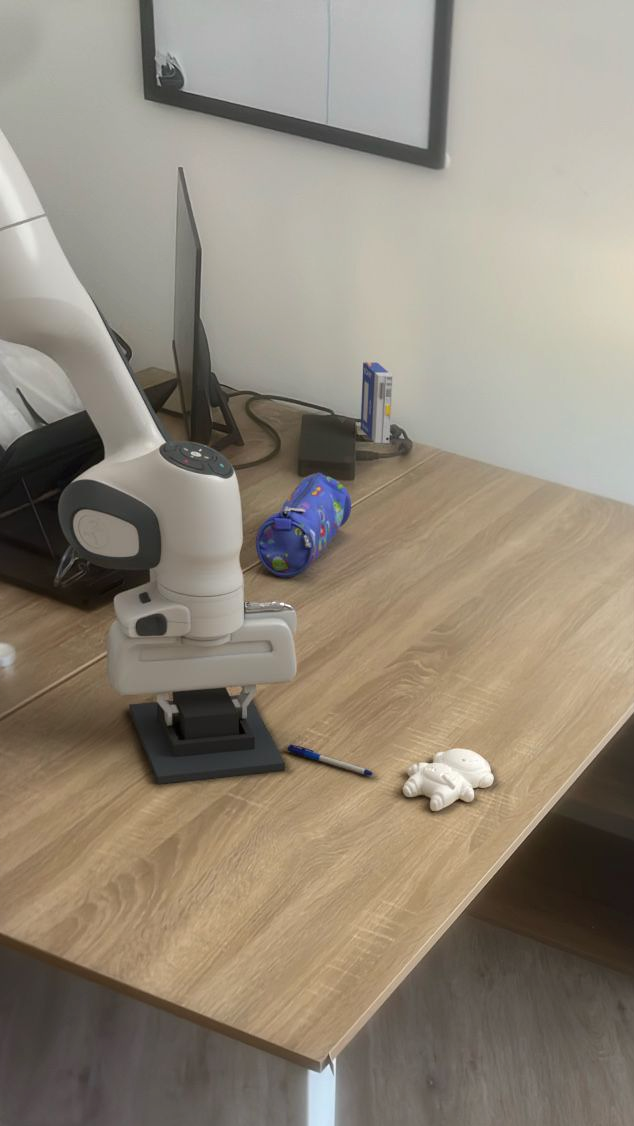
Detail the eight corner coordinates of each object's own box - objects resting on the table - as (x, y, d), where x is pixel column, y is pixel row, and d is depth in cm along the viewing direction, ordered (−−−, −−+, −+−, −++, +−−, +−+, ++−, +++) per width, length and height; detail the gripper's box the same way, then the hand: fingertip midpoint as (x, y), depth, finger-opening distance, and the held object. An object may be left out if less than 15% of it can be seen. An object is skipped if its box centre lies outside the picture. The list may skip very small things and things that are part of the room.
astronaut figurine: (384, 786, 143) (385, 763, 141) (453, 751, 151) (455, 729, 149) (442, 819, 140) (445, 796, 138) (510, 781, 148) (513, 759, 146)
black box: (185, 748, 142) (183, 717, 139) (173, 722, 146) (172, 691, 143) (239, 743, 144) (238, 712, 142) (226, 717, 148) (225, 686, 146)
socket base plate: (157, 784, 137) (156, 763, 136) (129, 711, 148) (128, 691, 146) (284, 770, 143) (285, 750, 141) (248, 701, 154) (248, 681, 152)
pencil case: (310, 587, 181) (311, 521, 174) (251, 575, 181) (250, 509, 175) (352, 532, 198) (354, 470, 192) (298, 522, 198) (299, 460, 192)
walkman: (360, 428, 236) (363, 360, 228) (374, 428, 237) (377, 360, 229) (375, 443, 231) (378, 374, 223) (389, 443, 232) (393, 374, 224)
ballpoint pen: (285, 752, 146) (285, 745, 145) (289, 749, 146) (289, 741, 146) (370, 777, 144) (370, 770, 143) (373, 774, 145) (374, 766, 144)
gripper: (289, 587, 141) (288, 698, 150) (98, 597, 133) (108, 714, 142) (305, 612, 137) (303, 724, 146) (108, 624, 129) (119, 742, 138)
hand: (205, 719), depth 144 cm, fingers closed on black box, 6 cm apart
